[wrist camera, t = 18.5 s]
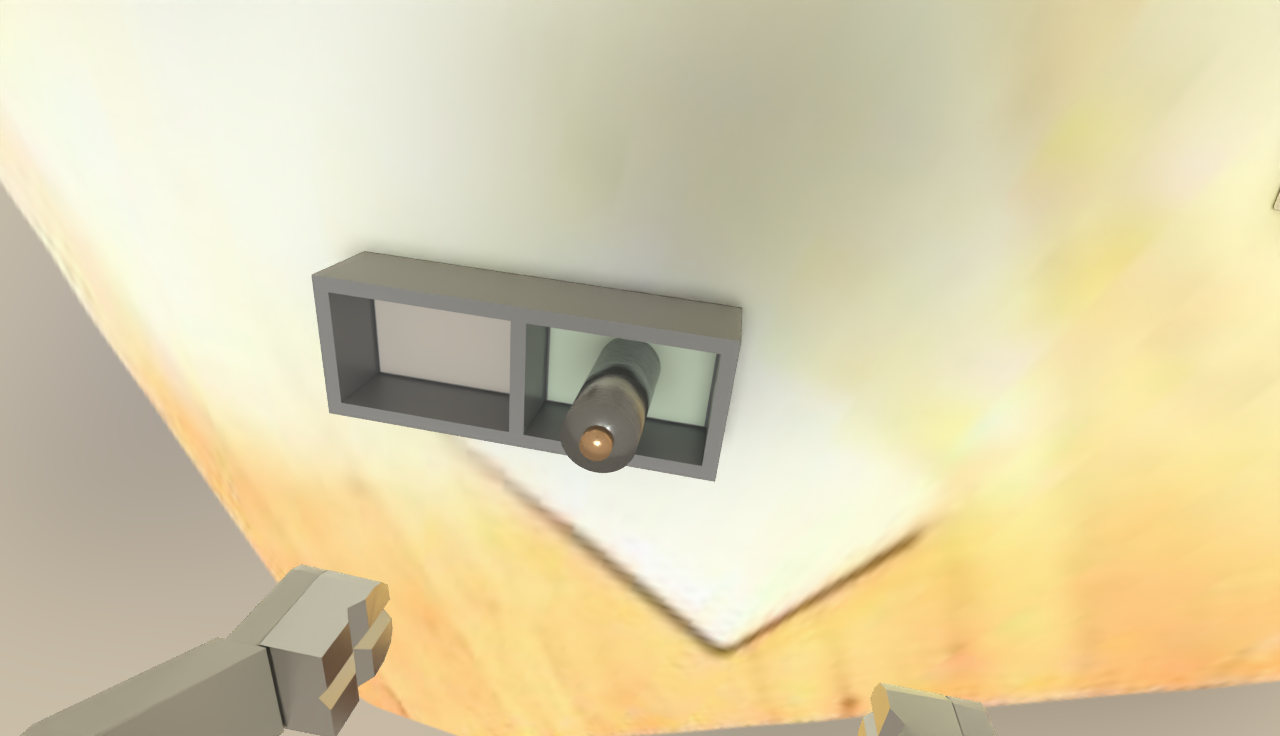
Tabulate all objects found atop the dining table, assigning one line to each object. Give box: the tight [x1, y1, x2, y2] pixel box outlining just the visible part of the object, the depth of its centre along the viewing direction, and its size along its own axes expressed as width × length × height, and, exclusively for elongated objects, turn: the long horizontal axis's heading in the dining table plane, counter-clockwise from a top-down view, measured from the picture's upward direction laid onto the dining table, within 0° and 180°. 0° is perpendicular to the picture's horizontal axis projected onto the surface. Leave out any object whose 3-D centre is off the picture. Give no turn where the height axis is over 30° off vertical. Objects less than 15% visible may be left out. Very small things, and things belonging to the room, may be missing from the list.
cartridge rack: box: [312, 251, 742, 482], centre depth 43 cm, size 10×27×6 cm, turn 84°
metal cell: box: [560, 338, 661, 473], centre depth 39 cm, size 4×4×11 cm
